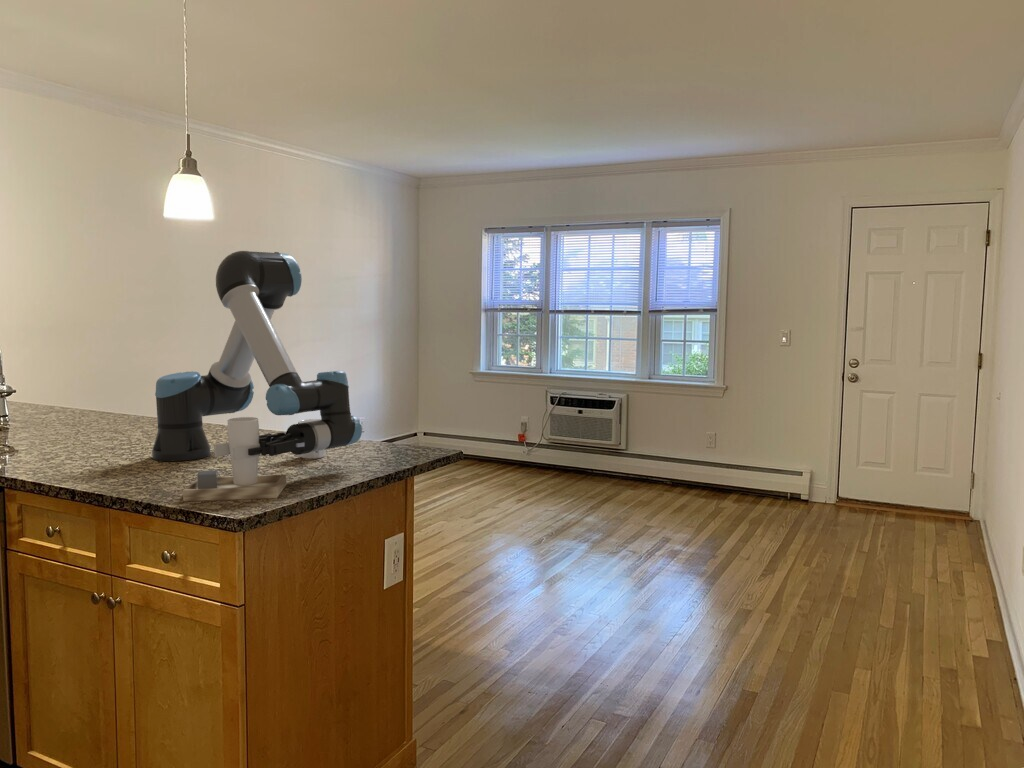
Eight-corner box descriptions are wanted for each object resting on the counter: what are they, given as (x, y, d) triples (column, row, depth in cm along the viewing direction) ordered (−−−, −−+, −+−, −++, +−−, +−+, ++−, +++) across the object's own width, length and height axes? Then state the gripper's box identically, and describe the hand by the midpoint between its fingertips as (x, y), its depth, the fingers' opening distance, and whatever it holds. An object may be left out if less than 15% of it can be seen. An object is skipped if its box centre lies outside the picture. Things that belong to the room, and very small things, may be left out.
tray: (183, 501, 175) (182, 490, 175) (199, 487, 188) (199, 477, 187) (276, 497, 177) (276, 487, 177) (286, 484, 190) (286, 474, 190)
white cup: (320, 459, 219) (319, 423, 218) (294, 458, 221) (292, 423, 220) (332, 454, 227) (331, 419, 226) (307, 453, 228) (305, 418, 227)
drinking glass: (234, 480, 185) (231, 417, 184) (264, 480, 186) (261, 416, 184) (226, 487, 179) (223, 421, 177) (257, 487, 179) (254, 421, 178)
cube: (198, 492, 179) (197, 475, 179) (199, 488, 183) (198, 471, 182) (217, 491, 180) (216, 473, 180) (218, 487, 184) (217, 470, 184)
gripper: (334, 457, 191) (251, 474, 172) (282, 448, 202) (200, 463, 184) (333, 426, 190) (250, 440, 171) (281, 419, 201) (198, 431, 183)
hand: (224, 452), depth 177 cm, fingers closed on drinking glass, 6 cm apart
